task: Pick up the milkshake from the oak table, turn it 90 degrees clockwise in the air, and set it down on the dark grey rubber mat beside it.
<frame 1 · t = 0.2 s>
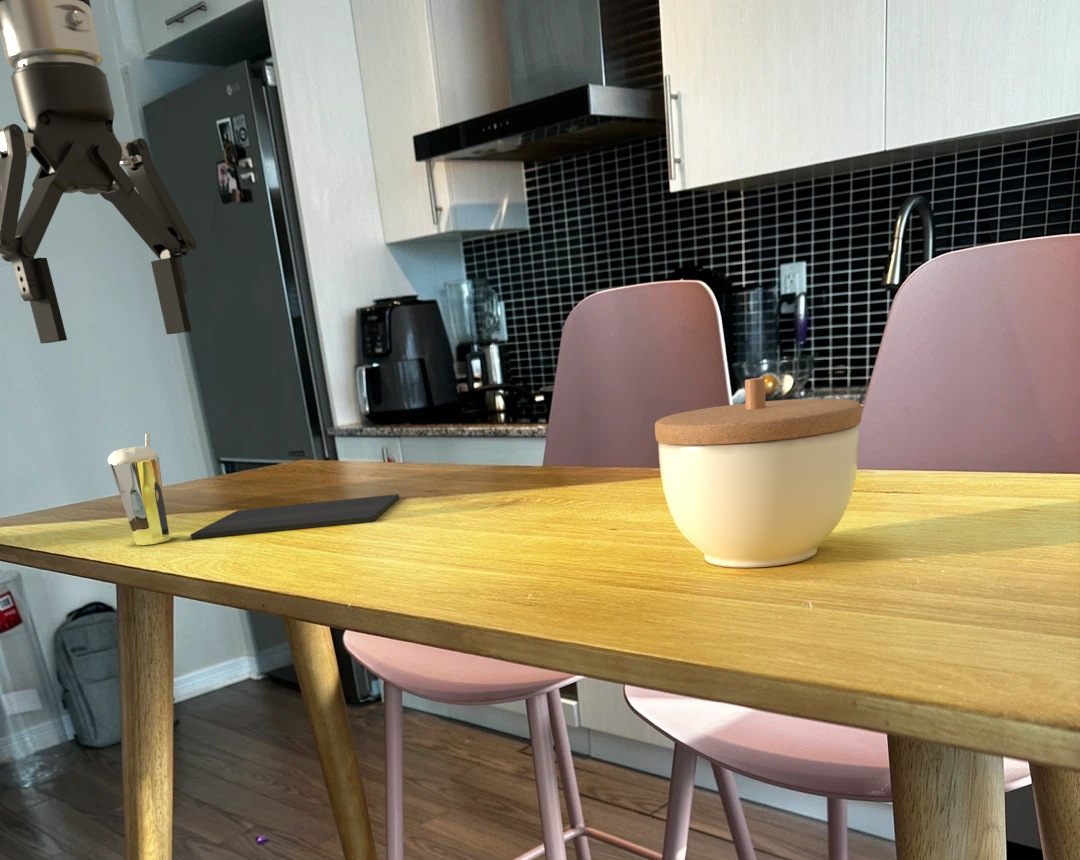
hand: (120, 337, 94), 19 cm above the table, tool pointing down, fingers open, 13 cm apart
milkshake: (156, 543, 101), on the table
lidded bowl: (760, 558, 67), on the table
mat: (301, 517, 105), on the table
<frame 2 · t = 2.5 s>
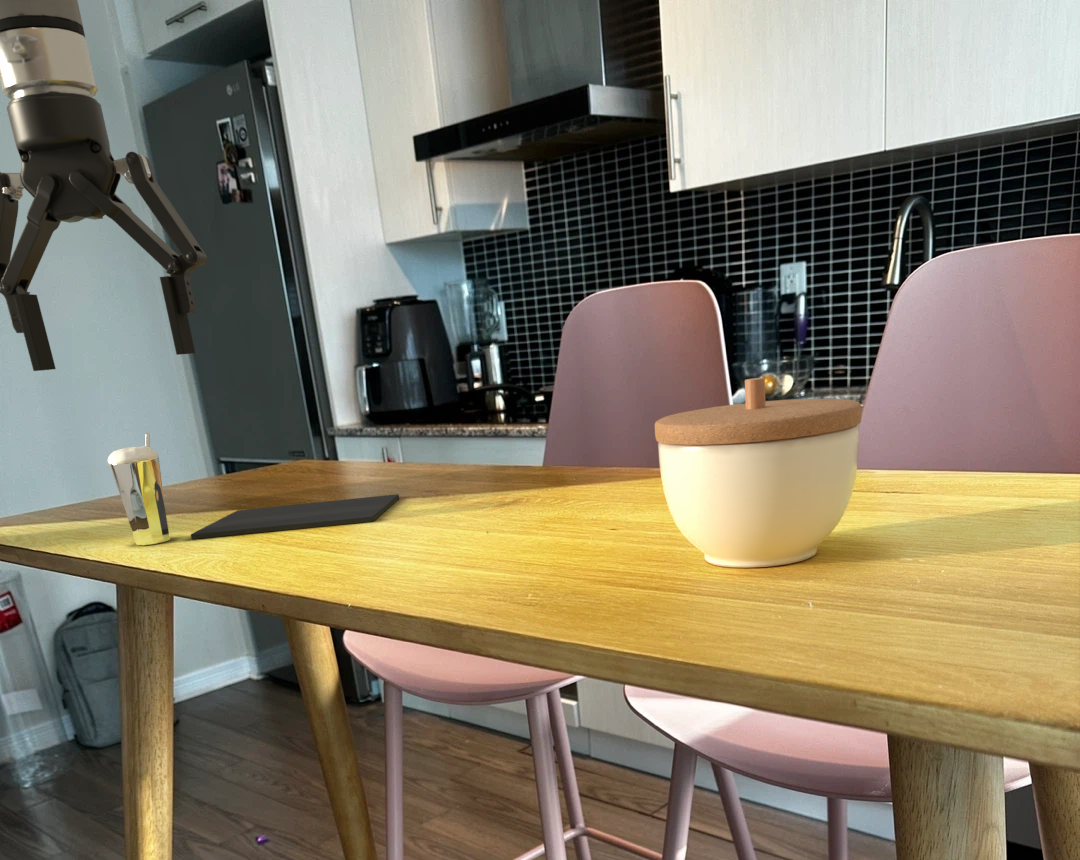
hand: (115, 362, 95), 17 cm above the table, tool pointing down, fingers open, 13 cm apart
nothing on the table moved.
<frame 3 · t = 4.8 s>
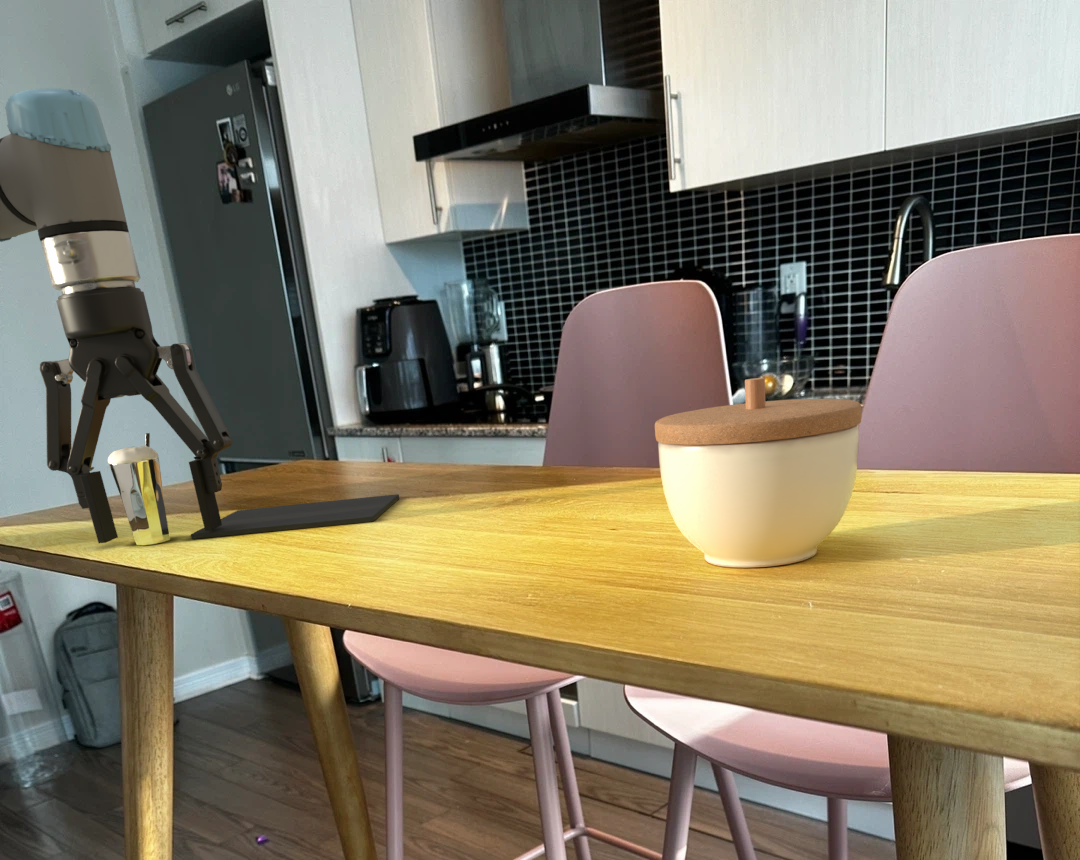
hand: (160, 534, 100), 1 cm above the table, tool pointing down, fingers open, 10 cm apart
nothing on the table moved.
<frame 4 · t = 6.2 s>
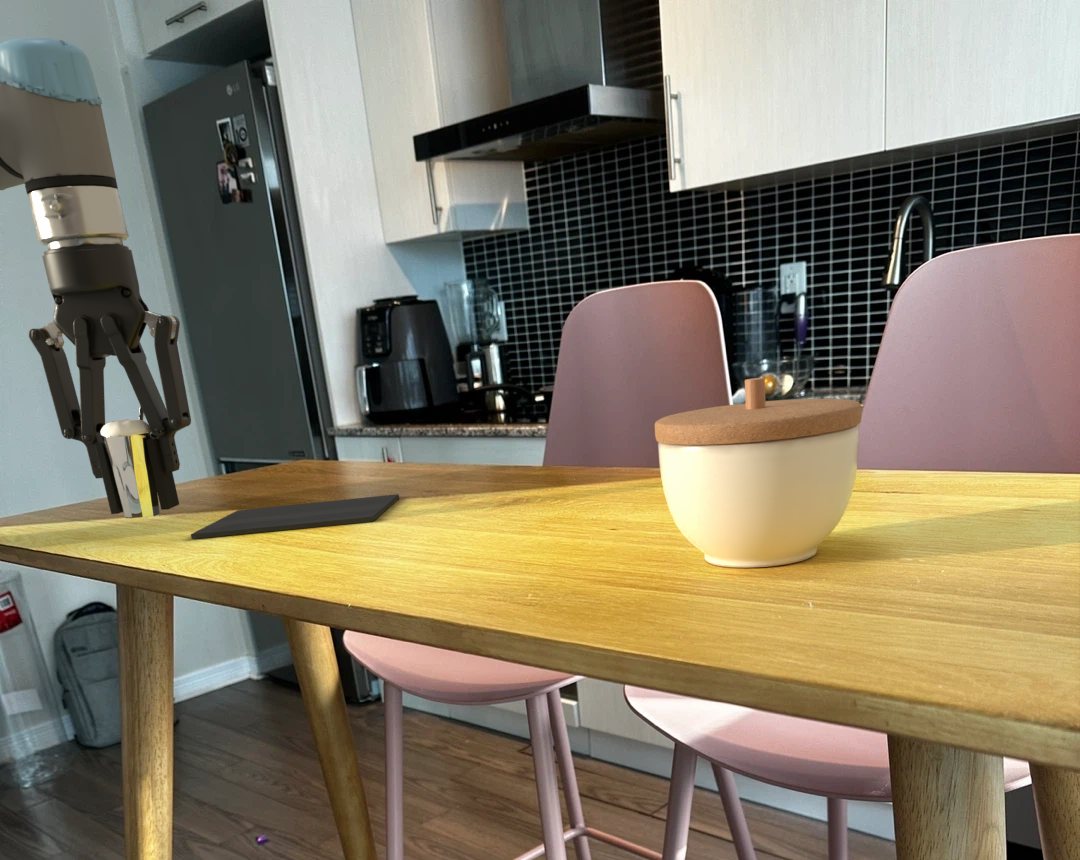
hand: (145, 508, 100), 3 cm above the table, tool pointing down, fingers closed on milkshake, 4 cm apart
milkshake: (145, 517, 100), point 2 cm above the table, touching gripper
everything else where it was.
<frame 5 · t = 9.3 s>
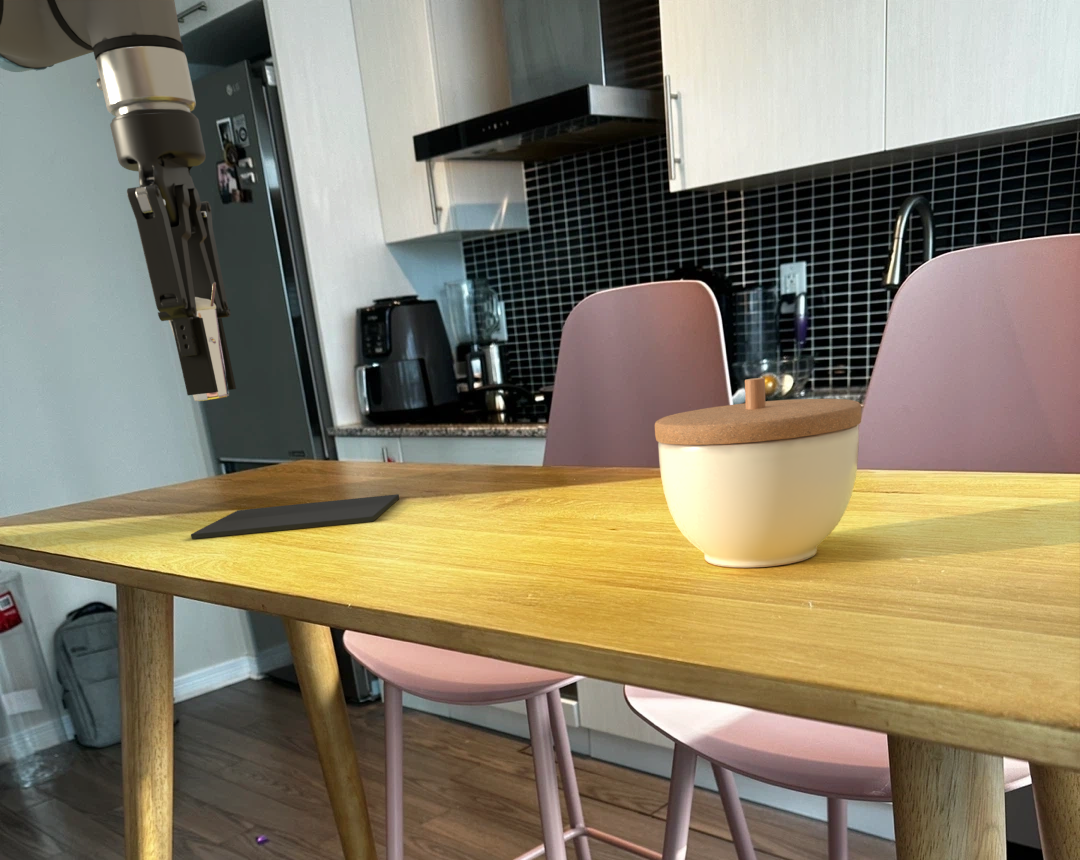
hand: (212, 391, 98), 13 cm above the table, tool pointing down, fingers closed on milkshake, 4 cm apart
milkshake: (216, 400, 99), point 12 cm above the table, touching gripper
everything else where it was.
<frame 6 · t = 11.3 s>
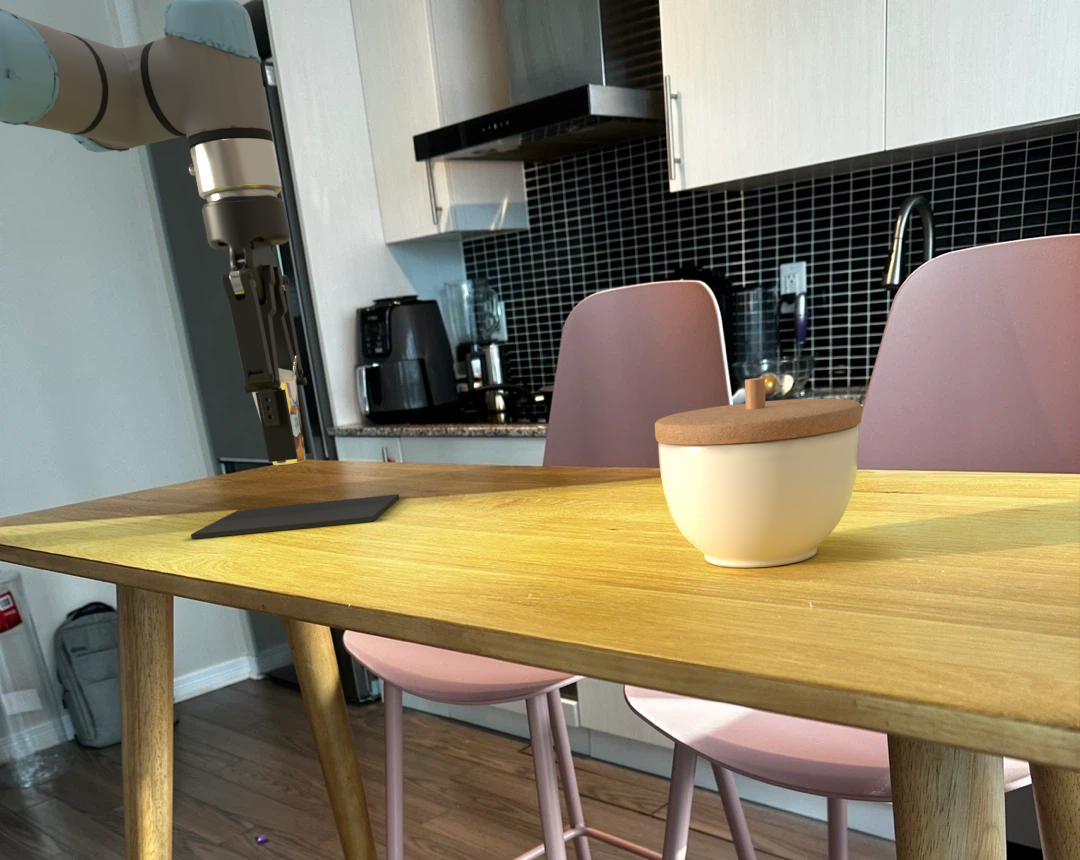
hand: (290, 456, 103), 6 cm above the table, tool pointing down, fingers closed on milkshake, 4 cm apart
milkshake: (293, 464, 104), point 5 cm above the table, touching gripper
everything else where it was.
when the fingers open (1 cm above the table, at t = 12.6 s): milkshake stays where it is, resting on mat.
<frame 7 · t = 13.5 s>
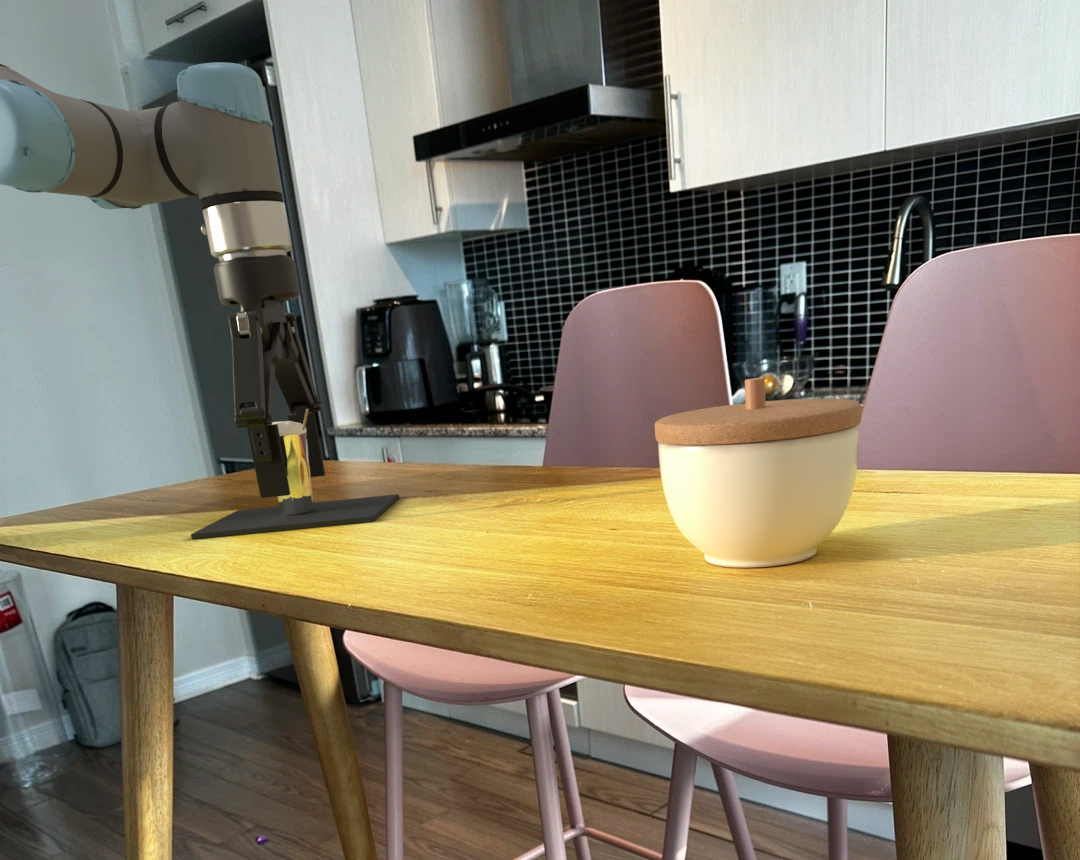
hand: (295, 486, 104), 3 cm above the table, tool pointing down, fingers open, 13 cm apart
milkshake: (302, 514, 105), resting on mat
everything else where it was.
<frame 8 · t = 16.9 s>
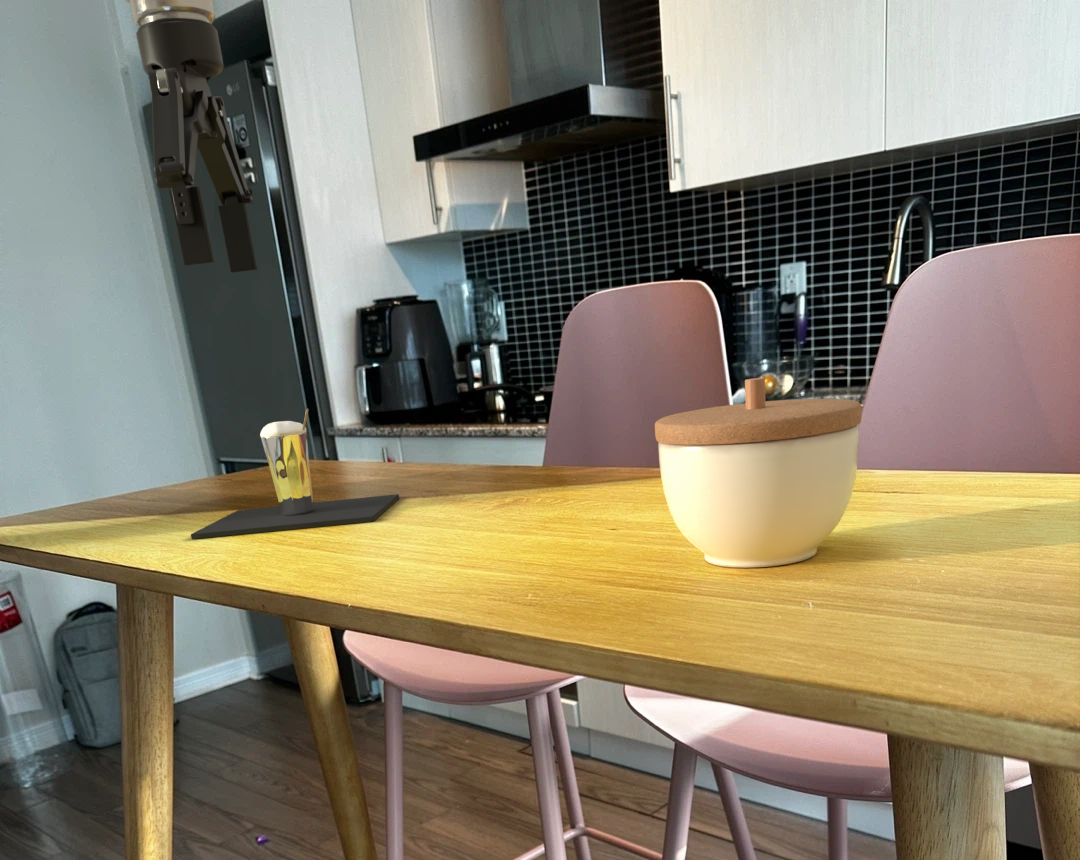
hand: (223, 268, 105), 25 cm above the table, tool pointing down, fingers open, 13 cm apart
nothing on the table moved.
at the end: milkshake inside the target area on the mat (0.3 cm from its centre), point 0.3 cm above the mat's base; milkshake tilted 0°; the gripper is holding nothing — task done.
